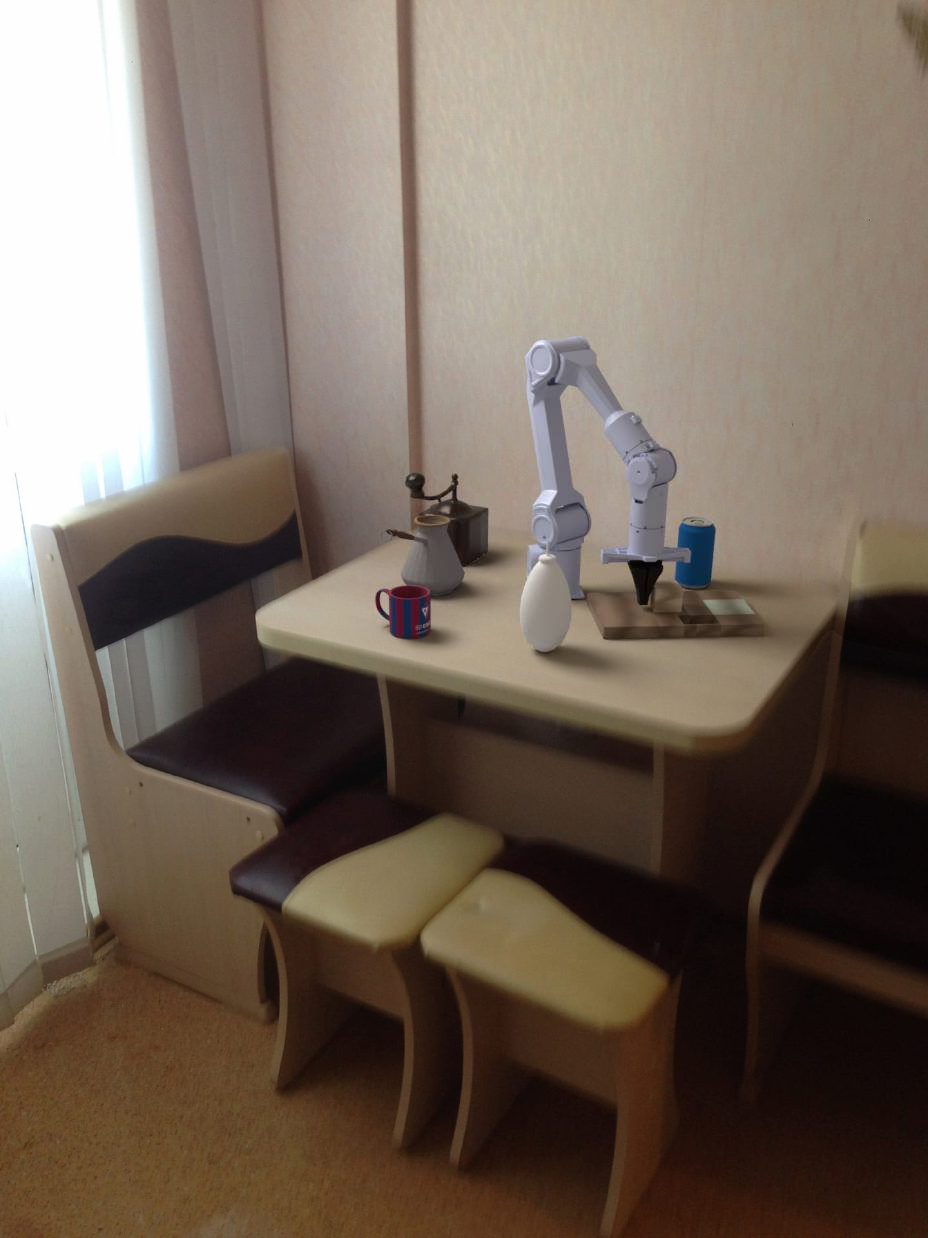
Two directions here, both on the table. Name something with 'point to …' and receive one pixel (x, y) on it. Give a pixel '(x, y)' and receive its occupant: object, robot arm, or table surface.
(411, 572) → the coffee pot
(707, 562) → the beverage can
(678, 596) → the block
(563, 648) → the table surface
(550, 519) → the robot arm
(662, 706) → the table surface
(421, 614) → the mug
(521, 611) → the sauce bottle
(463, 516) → the coffee grinder
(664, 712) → the table surface
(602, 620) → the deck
